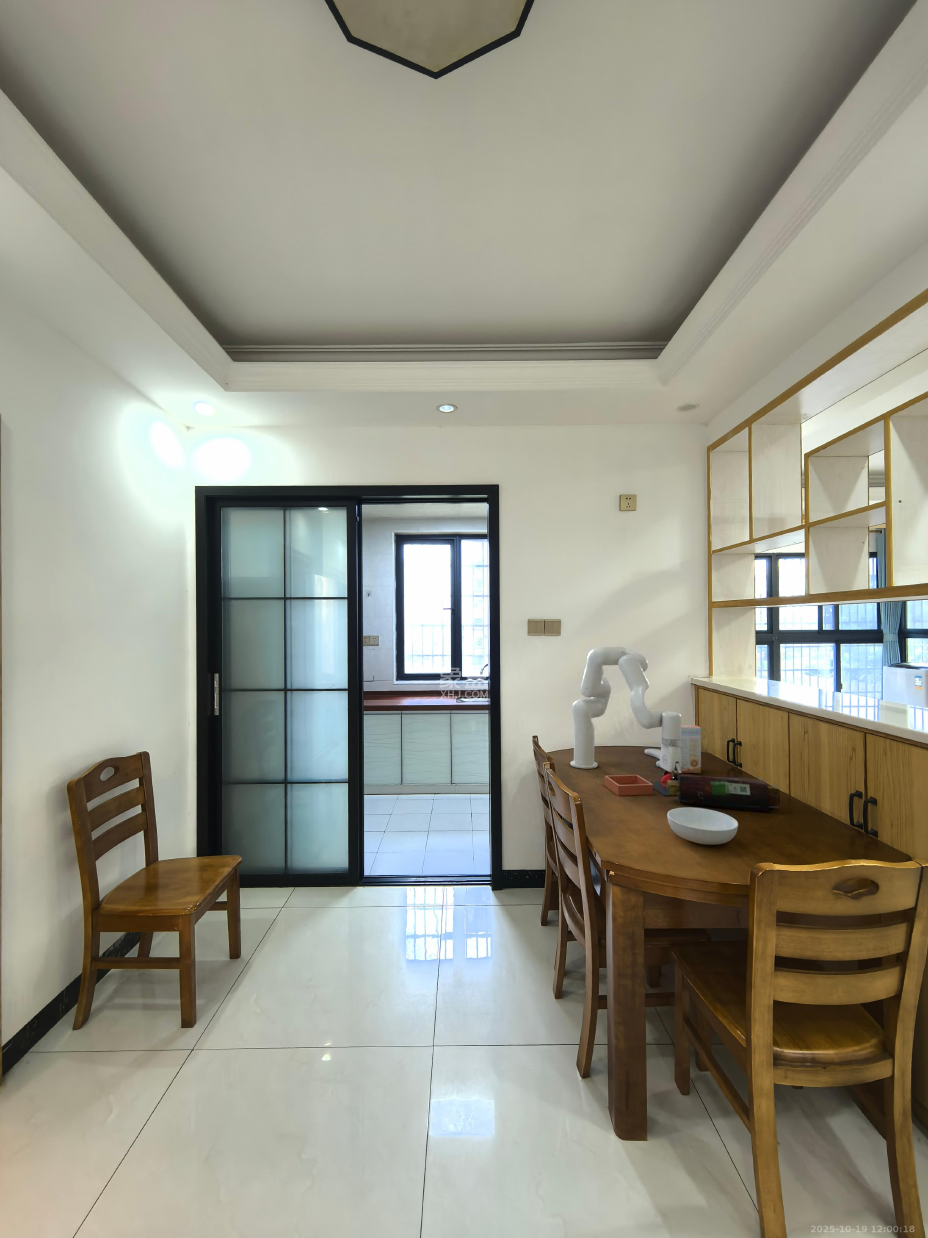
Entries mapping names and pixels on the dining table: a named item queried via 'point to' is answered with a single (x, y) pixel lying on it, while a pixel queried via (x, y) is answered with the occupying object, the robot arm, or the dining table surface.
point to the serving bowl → (702, 825)
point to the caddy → (628, 785)
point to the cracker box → (690, 749)
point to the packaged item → (725, 792)
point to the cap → (666, 777)
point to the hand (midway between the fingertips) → (670, 786)
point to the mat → (661, 788)
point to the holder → (654, 754)
